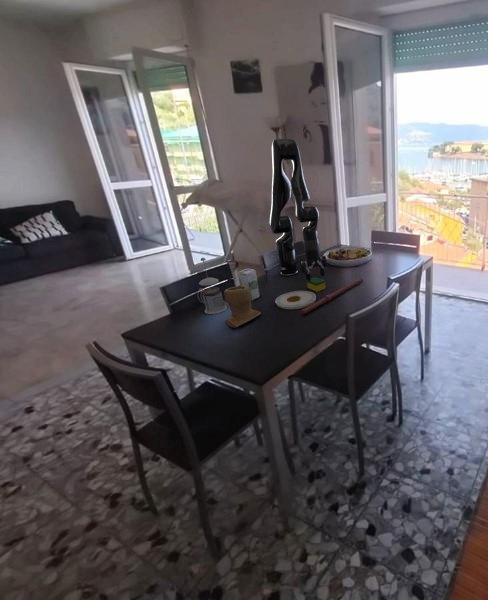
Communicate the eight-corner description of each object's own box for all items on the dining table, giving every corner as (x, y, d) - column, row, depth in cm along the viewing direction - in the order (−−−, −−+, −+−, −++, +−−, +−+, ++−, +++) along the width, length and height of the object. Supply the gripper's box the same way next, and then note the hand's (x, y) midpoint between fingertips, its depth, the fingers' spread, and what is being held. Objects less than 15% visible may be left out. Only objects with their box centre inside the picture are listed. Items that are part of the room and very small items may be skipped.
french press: (232, 306, 167) (220, 255, 157) (213, 317, 157) (198, 263, 147) (215, 303, 170) (202, 253, 160) (196, 314, 160) (180, 261, 150)
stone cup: (246, 310, 162) (239, 280, 156) (265, 315, 158) (259, 284, 151) (217, 325, 150) (209, 292, 144) (237, 331, 145) (229, 297, 139)
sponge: (307, 288, 186) (306, 280, 184) (316, 284, 190) (315, 277, 188) (317, 291, 181) (316, 283, 180) (325, 288, 185) (324, 280, 183)
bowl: (333, 253, 242) (331, 242, 239) (376, 254, 238) (375, 242, 235) (317, 267, 215) (316, 255, 212) (366, 269, 211) (365, 256, 208)
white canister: (252, 295, 179) (246, 267, 173) (260, 296, 177) (255, 269, 171) (243, 299, 174) (237, 271, 168) (251, 301, 172) (246, 273, 166)
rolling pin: (306, 316, 156) (305, 310, 155) (300, 315, 158) (299, 308, 156) (364, 282, 192) (363, 277, 190) (359, 281, 193) (358, 276, 192)
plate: (268, 302, 171) (267, 299, 170) (301, 289, 184) (300, 287, 183) (290, 313, 160) (290, 310, 159) (324, 299, 173) (324, 296, 172)
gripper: (318, 243, 184) (322, 272, 190) (295, 249, 174) (299, 280, 181) (327, 245, 179) (331, 275, 186) (304, 252, 169) (308, 283, 176)
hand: (315, 278), depth 183 cm, fingers open, 8 cm apart
